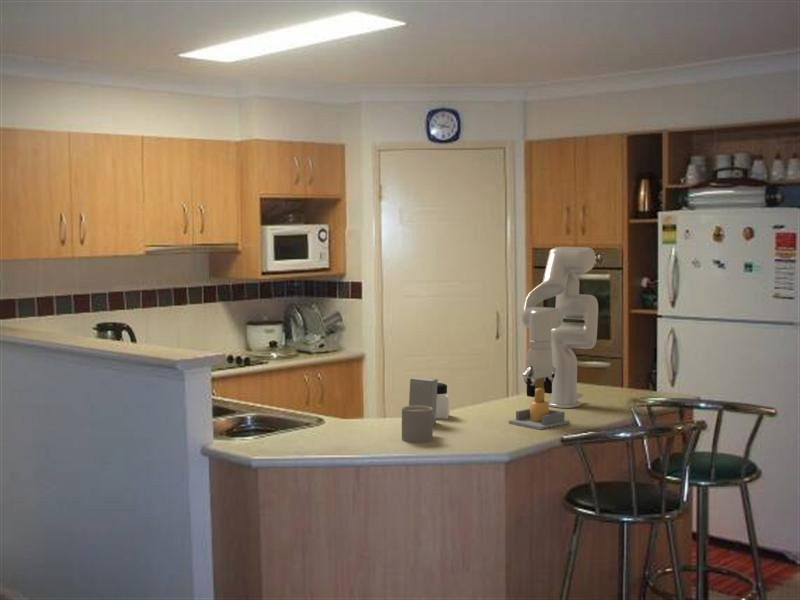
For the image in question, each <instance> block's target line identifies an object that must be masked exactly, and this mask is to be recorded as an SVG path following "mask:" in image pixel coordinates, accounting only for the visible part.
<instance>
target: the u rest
mask: <svg viewBox="0 0 800 600" xmlns="http://www.w3.org/2000/svg"><path fill="white" fill-rule="evenodd" d="M509 423H510V424H509ZM569 423H570V419H565V411H561V410H554V409H551V408H549V415H544V416H542V422H532V421H530V408H525V409H520V410H517V411H516V410H515V418H514V419H511V420H508V424H509V425H513V424H516V425H515V426H518V425H521V426H520V427H524V426H527V427H526V428H529V427H532V428H531V429H534V428H537V429H536V430H539V429H542V430H545V428H546V429H549V428H548V427H551V428H554V427H553V426H555V427H558V426H557V425H559V426H563V425H566V424H569Z"/></svg>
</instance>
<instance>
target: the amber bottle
mask: <svg viewBox="0 0 800 600" xmlns="http://www.w3.org/2000/svg"><path fill="white" fill-rule="evenodd" d="M545 394H546V393H545V389H544V387H543V388H541V387H540V388H539V387H537V388H536V387H535V397H534V400H530V401H529V409H530V421H532V422H542V416H544V415H549V409H550V406H549V402H548V401H549V400H545Z"/></svg>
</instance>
